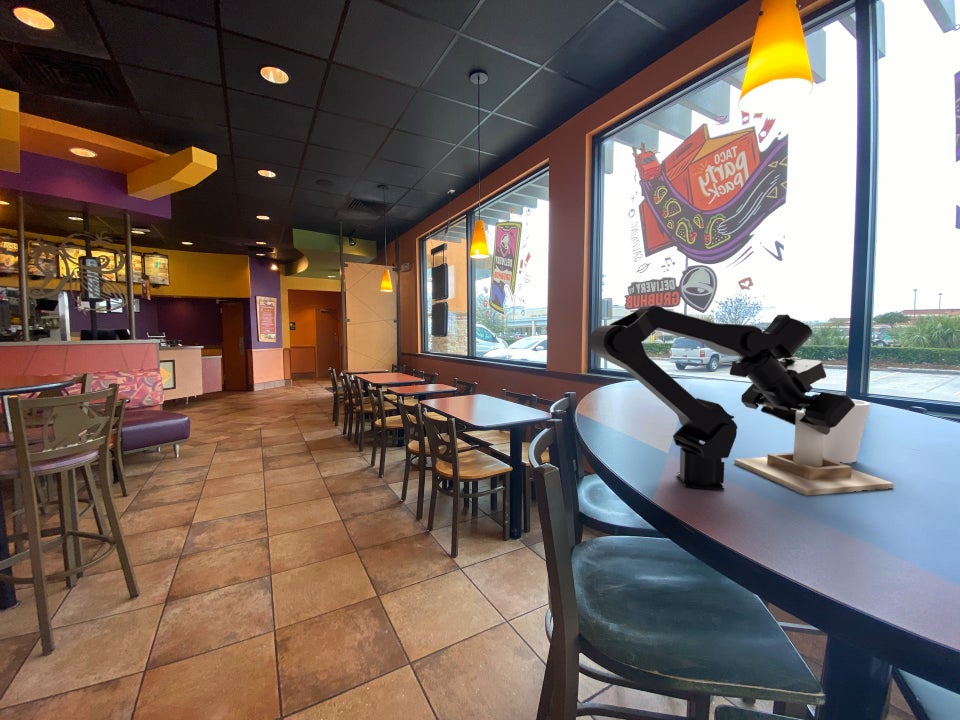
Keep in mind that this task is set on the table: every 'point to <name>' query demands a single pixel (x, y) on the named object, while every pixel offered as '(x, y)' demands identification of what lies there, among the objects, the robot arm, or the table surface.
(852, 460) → the foam cup
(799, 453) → the white bottle
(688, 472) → the robot arm
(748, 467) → the plate
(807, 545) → the table surface
